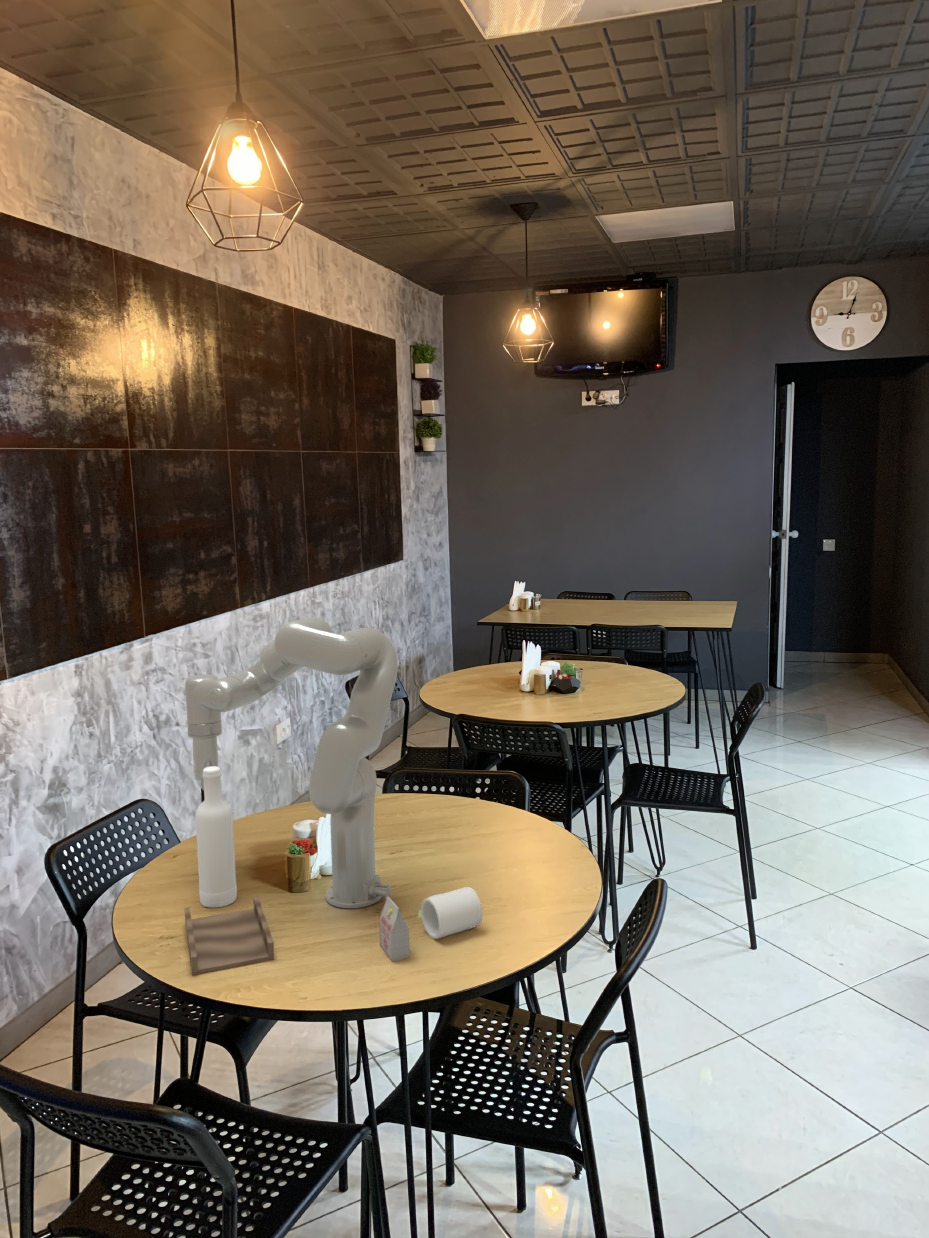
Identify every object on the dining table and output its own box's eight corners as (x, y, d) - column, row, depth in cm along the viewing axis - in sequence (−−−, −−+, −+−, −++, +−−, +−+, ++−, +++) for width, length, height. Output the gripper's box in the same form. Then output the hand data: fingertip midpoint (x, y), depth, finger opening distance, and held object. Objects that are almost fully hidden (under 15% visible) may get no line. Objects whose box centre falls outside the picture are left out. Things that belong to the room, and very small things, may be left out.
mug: (483, 932, 178) (482, 894, 177) (440, 945, 172) (439, 907, 171) (452, 910, 188) (452, 874, 187) (411, 922, 182) (410, 885, 182)
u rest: (185, 923, 183) (184, 907, 183) (258, 911, 188) (257, 895, 188) (192, 975, 163) (191, 957, 162) (274, 959, 168) (273, 942, 168)
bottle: (242, 892, 198) (236, 763, 194) (229, 908, 190) (222, 773, 186) (208, 891, 198) (200, 762, 195) (194, 907, 191) (186, 773, 187)
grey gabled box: (397, 941, 174) (396, 893, 173) (409, 957, 168) (408, 907, 167) (379, 945, 173) (378, 897, 171) (391, 961, 167) (390, 911, 165)
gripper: (185, 722, 209) (190, 797, 211) (189, 737, 195) (194, 817, 198) (218, 719, 212) (222, 793, 214) (224, 734, 198) (228, 812, 200)
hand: (209, 804), depth 206 cm, fingers closed
